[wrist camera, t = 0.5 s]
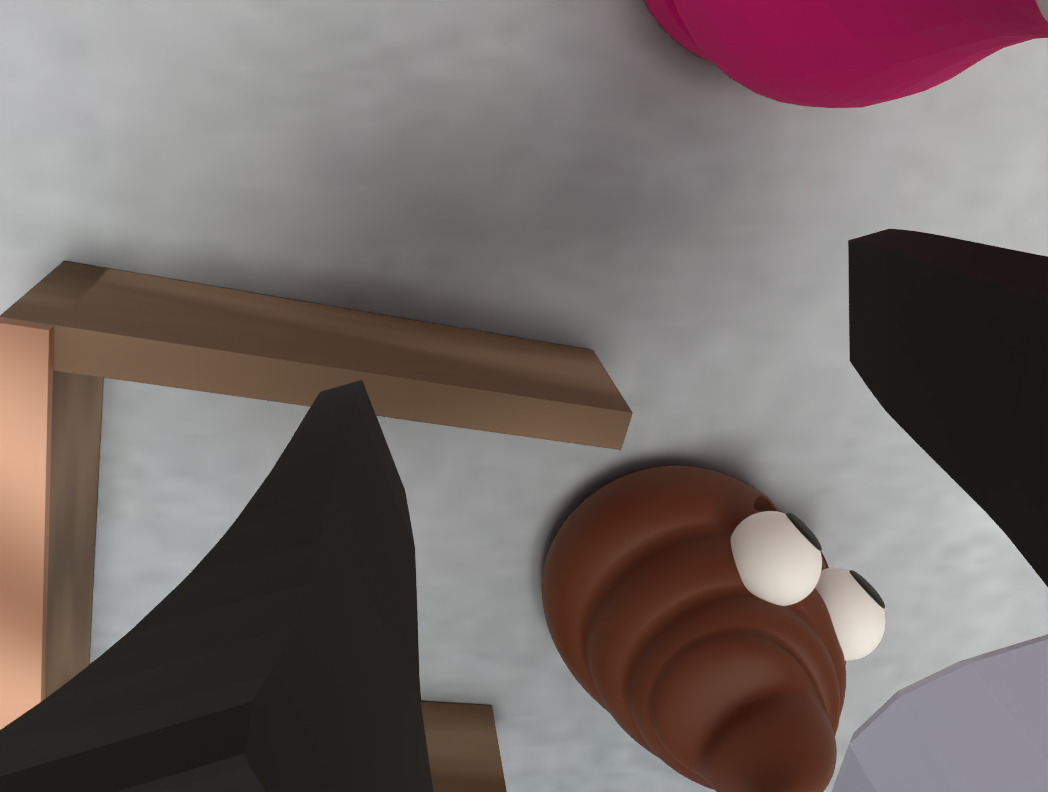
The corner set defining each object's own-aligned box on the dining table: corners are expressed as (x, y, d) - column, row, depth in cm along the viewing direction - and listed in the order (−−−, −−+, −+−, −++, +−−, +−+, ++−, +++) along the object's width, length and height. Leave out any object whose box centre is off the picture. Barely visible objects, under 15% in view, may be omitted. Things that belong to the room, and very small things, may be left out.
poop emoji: (478, 581, 27) (528, 849, 18) (677, 390, 25) (833, 589, 16) (681, 719, 31) (798, 991, 22) (864, 563, 29) (1066, 794, 20)
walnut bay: (485, 728, 29) (502, 839, 25) (51, 704, 26) (-6, 829, 22) (593, 350, 24) (636, 418, 20) (64, 260, 20) (-8, 321, 17)
